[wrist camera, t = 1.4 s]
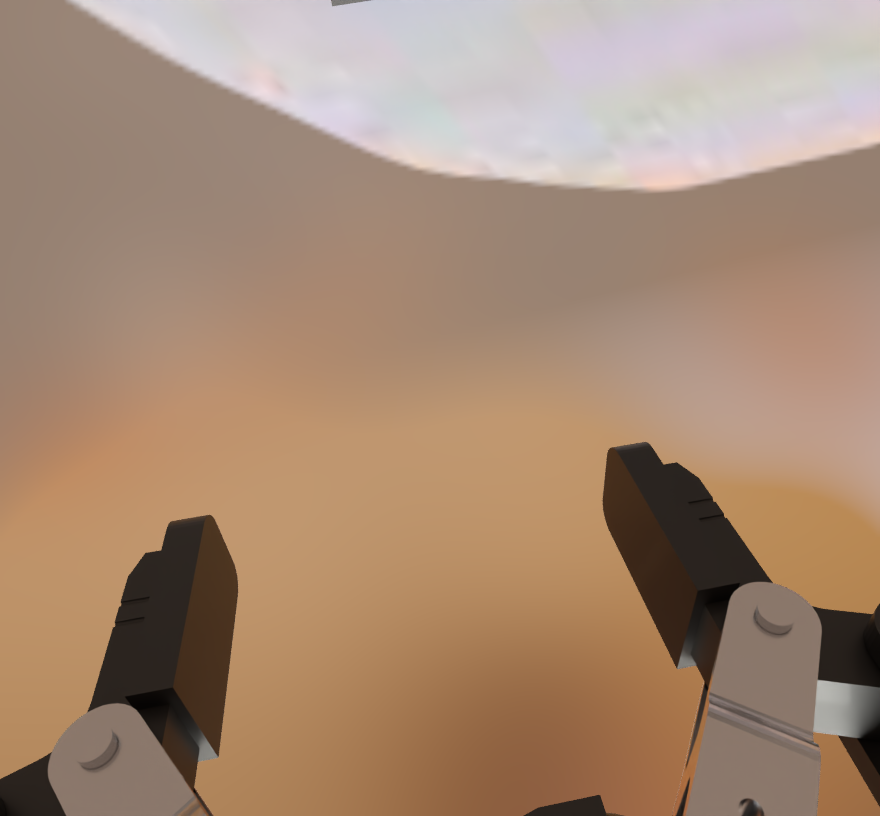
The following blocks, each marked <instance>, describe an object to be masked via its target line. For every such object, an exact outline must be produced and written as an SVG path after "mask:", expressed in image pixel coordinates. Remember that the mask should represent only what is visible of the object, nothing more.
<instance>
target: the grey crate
mask: <svg viewBox="0 0 880 816" xmlns="http://www.w3.org/2000/svg"><path fill="white" fill-rule="evenodd" d="M363 1H369V0H331V2H332V6H337V5H343V4H350V3H356V2H363Z"/></svg>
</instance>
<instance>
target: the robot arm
mask: <svg viewBox="0 0 880 816" xmlns="http://www.w3.org/2000/svg"><path fill="white" fill-rule="evenodd" d="M603 511H604V516H605V520H606V523H607V526H608V529H609V531H610V533H611V535H612V537H613V539H614V541H615V543H616V545H617V547H618V549H619V551H620V553H621V555H622V557H623V559H624V562H625V563H626V566H627V568H628V570H629V571H630V574H631V576H632V578H633V580H634V582H635V584H636V586H637V588H638V590H639V592H640V594H641V596H642V598H643V600H644V602H645V605H646V606H647V609H648V610H649V613H650V614H651V616H652V619H653V621H654V623H655V625H656V627H657V629H658V631H659V633H660V635H661V637H662V639H663V641H664V643H665V645H666V647H667V649H668V651H669V654H670V656H671V658H672V660H673V662H674V664H675V666H676V668H677V669H680V668H686V667H691V666H697V667H698V669H699V671H700V673H701V675H702V677H703V679H704V684H703V687H702V691H701V695H700V700H699V704H698V708H697V713H696V717H695V722H694V726H693V731H692V735H691V739H690V744H689V748H688V752H687V757H686V761H685V766H684V770H683V774H682V779H681V782H680V787H679V790H678V794H677V797H676V801H675V805H674V809H673V813H672V816H817V806H818V792H819V780H820V764H821V755H820V748H819V745H818V744H816V743H814V741H813V732H818V733H825V734H832V735H838V736H839V738H840V740H841V741H842V743H843V745H844V746H845V748H846V749H847V752H848V753H849V755H850V757H851V758H852V760H853V762H854V764H855V765H856V767H857V769H858V770H859V772H860V774H861V776H862V777H863V779H864V781H865V782H866V784H867V786H868V787H869V789H870V791H871V793H872V794H873V796H874V798H875V799H876V801H877V803H878V805H879V806H880V604H879V605H878V607H877V608H876V610H875V612H874V613H873V614H864V613H856V612H855V613H854V612H846V611H837V610H828V609H821V608H817V607H813V606H811V605H810V604H809V603H808V602H807V601H806V600H805V599H804V598H803V597H801V596H800V595H799V594H797V593H796V592H794V591H792V590H790V589H788V588H786V587H783V586H781V585H778V584H774V583H773V582H772V581H771V580H770V579H769V577H768V576H767V575H766V573H765V572H764V570H763V569H762V567H761V566H760V565H759V563H758V562H757V560H756V559H755V558H754V556H753V555H752V553H751V552H750V551H749V549H748V548H747V546H746V545H745V543H744V542H743V540H742V539H741V538H740V536H739V535H738V533H737V532H736V530H735V529H734V528H733V526H732V525H731V523H730V522H729V520H728V519H727V518H725V517H724V513H723V512H722V510H721V509H720V508H719V506H718V505H717V503H716V502H713V498H712V496H711V495H710V493H709V492H708V490H707V489H706V488H705V486H704V485H703V483H702V482H701V480H700V479H699V478H698V477H697V476H695V475H694V474H692V473H691V472H690V471H688V470H687V469H685V468H684V467H682V466H681V465H680V464H678V463H671V464H665V465H663V463H662V462H661V460H660V459H659V457H658V456H657V454H656V453H655V451H654V449H653V448H652V447H651V445H650V444H649V443H647V442H642V443H636V444H630V445H624V446H619V447H613V448H610V449H609V450H608V453H607V462H606V472H605V482H604V492H603ZM237 597H238V580H237V573H236V569H235V565H234V563H233V560H232V558H231V555H230V553H229V551H228V549H227V546H226V544H225V542H224V540H223V537H222V535H221V533H220V530H219V528H218V526H217V524H216V522H215V519H214V518H213V517H212V516H211V515H206V516H200V517H194V518H188V519H182V520H177V521H172V522H170V523H169V525H168V527H167V530H166V534H165V538H164V542H163V546H162V550H161V551H155V552H150V553H145V555H144V556H143V557H142V559H141V560H140V561H139V563H138V564H137V566H136V567H135V568H134V570H133V571H132V572H131V574H130V575H129V576H128V579H127V583H126V586H125V589H124V592H123V596H122V599H121V606H120V607H119V609H118V613H117V616H116V620H115V627H114V628H113V630H112V634H111V637H110V640H109V644H108V647H107V650H106V654H105V657H104V661H103V664H102V668H101V671H100V674H99V678H98V681H97V684H96V688H95V691H94V695H93V698H92V702H91V704H90V707H89V710H88V712H87V713H86V714H84V715H83V716H81V717H80V718H79V719H77V720H76V721H75V722H74V723H73V724H72V725H71V726H70V727H69V728H68V729H67V730H66V731H65V732H64V733H63V735H62V736H61V737H60V738H59V740H58V742H57V743H56V745H55V747H54V749H53V751H52V752H51V753H50V754H48V755H47V756H45V757H43V758H41V759H39V760H38V761H36V762H34V763H32V764H30V765H28V766H26V767H24V768H22V769H20V770H18V771H16V772H14V773H12V774H10V775H8V776H6V777H4V778H2V779H0V816H213V814H212V813H211V811H210V810H209V808H208V807H207V805H206V804H205V802H204V801H203V799H202V798H201V796H200V795H199V794H198V792H197V790H196V789H195V788H194V784H195V777H196V770H197V763H198V762H199V761H204V760H209V759H214V758H218V757H219V747H220V739H221V732H222V723H223V714H224V706H225V698H226V690H227V681H228V673H229V664H230V655H231V648H232V639H233V630H234V622H235V614H236V605H237ZM524 816H622V815H618V814H612V813H606V812H605V809H604V806H603V803H602V800H601V797H600V795H596V796H592V797H587V798H583V799H577V800H573V801H568V802H564V803H559V804H554V805H549V806H544V807H540V808H537V809H535V810H533V811H532V812H530V813H528V814H526V815H524Z"/></svg>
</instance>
